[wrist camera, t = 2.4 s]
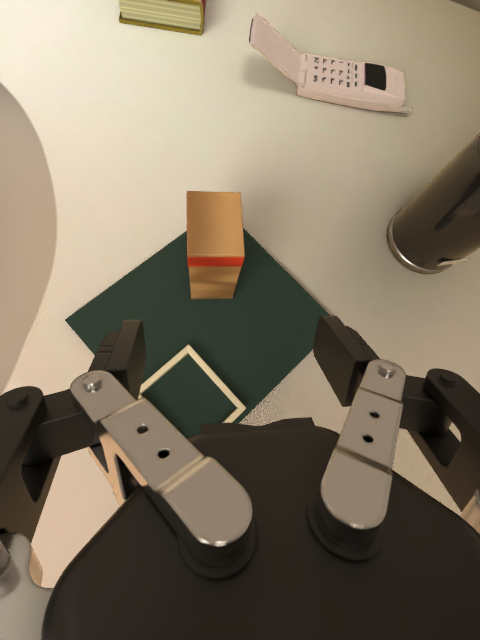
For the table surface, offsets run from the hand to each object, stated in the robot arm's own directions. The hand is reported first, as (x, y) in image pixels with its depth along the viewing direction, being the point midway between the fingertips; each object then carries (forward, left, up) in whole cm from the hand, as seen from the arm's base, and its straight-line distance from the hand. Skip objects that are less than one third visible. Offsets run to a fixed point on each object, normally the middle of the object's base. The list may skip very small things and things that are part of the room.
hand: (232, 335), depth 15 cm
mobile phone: (-40, -20, -20) cm, 50 cm away
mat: (-4, -5, -20) cm, 21 cm away
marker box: (-8, -9, -20) cm, 23 cm away
